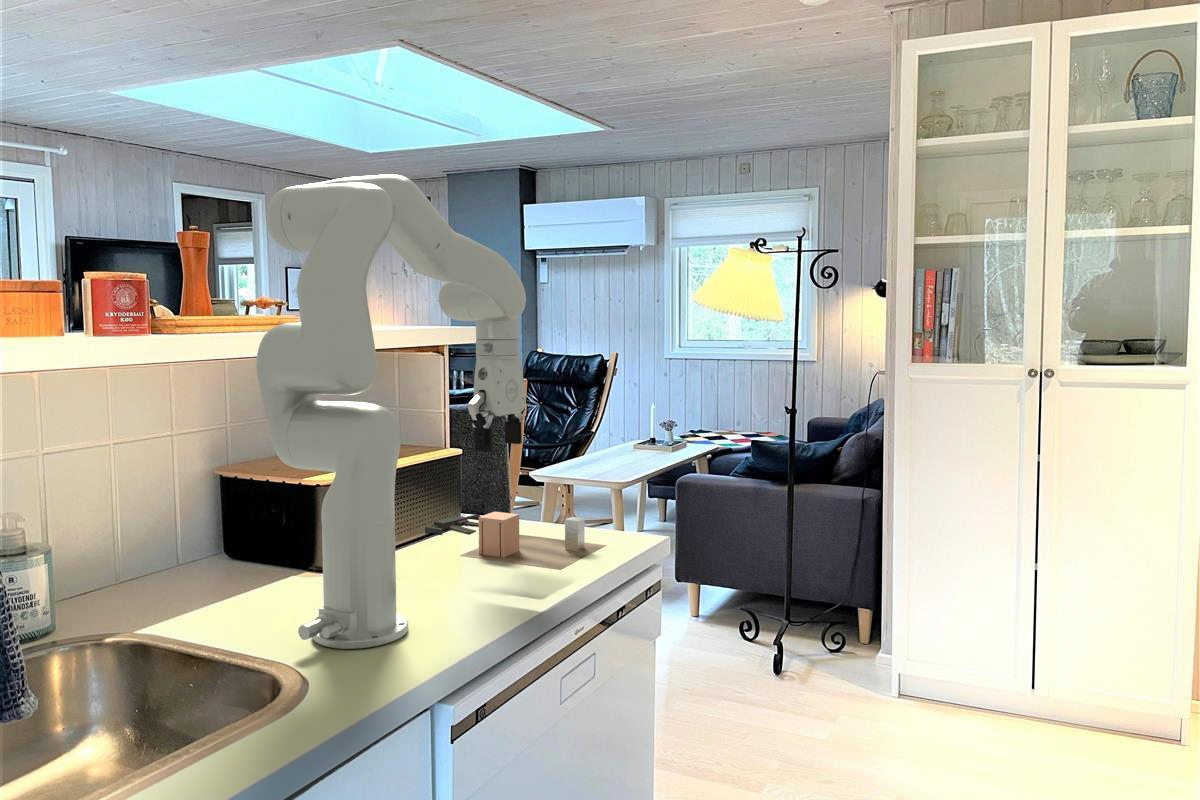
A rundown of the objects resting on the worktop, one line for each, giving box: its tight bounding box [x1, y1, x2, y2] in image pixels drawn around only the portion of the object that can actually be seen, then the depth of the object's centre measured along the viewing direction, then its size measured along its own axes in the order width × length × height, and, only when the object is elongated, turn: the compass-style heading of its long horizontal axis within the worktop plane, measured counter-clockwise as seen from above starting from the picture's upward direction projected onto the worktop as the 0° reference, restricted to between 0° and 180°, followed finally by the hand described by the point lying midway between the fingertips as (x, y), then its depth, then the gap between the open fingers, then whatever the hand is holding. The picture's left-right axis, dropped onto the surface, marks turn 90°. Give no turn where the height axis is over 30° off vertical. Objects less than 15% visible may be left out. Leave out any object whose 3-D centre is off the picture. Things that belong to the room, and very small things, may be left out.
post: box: [564, 516, 585, 551], centre depth 160 cm, size 3×3×7 cm
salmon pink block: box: [478, 511, 520, 557], centre depth 158 cm, size 5×5×7 cm
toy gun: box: [424, 513, 482, 535], centre depth 180 cm, size 3×19×15 cm
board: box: [459, 533, 608, 571], centre depth 159 cm, size 18×20×2 cm
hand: (498, 447), depth 156 cm, fingers open, 9 cm apart
